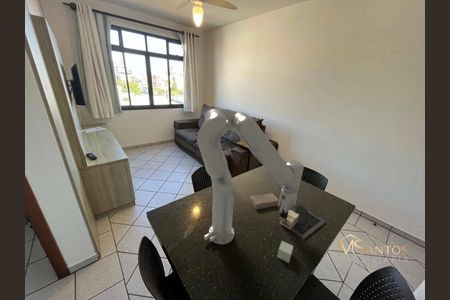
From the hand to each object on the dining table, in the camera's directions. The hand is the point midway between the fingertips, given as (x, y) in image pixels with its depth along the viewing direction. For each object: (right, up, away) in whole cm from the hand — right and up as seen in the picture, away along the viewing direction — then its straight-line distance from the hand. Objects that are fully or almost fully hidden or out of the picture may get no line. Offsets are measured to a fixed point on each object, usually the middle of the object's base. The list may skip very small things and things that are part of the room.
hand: (283, 217), depth 89 cm
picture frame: (+12, -6, +8) cm, 16 cm away
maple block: (+2, -4, +1) cm, 4 cm away
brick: (-5, 0, +21) cm, 22 cm away
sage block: (-4, -13, -12) cm, 18 cm away
